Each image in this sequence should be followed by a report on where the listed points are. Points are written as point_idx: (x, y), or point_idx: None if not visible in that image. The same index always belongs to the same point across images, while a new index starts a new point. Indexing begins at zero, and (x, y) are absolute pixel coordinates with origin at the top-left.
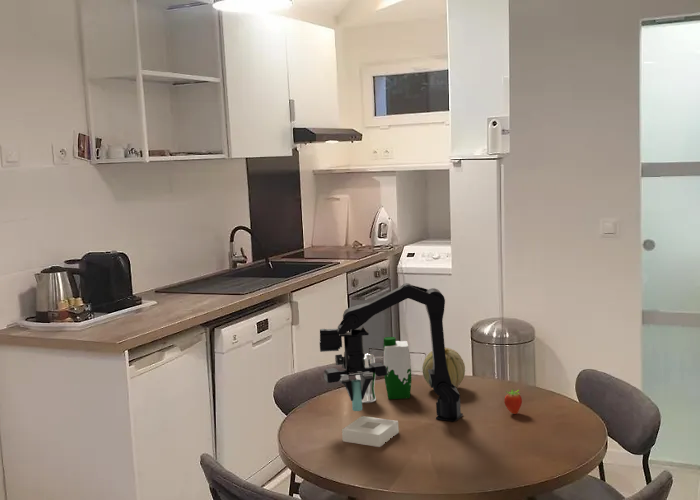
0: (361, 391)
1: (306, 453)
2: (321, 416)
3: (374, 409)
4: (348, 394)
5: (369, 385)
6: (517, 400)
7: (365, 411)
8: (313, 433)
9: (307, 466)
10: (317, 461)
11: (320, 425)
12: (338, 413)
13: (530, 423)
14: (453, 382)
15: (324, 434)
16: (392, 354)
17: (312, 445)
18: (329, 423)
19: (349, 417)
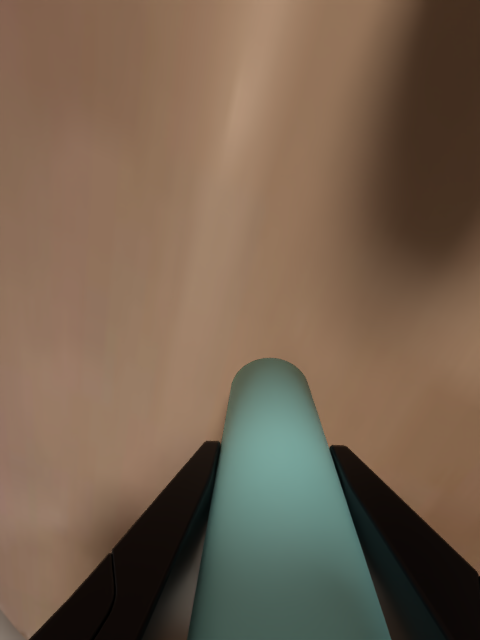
0: (364, 555)
1: (5, 552)
2: (61, 124)
3: (476, 126)
4: (166, 495)
5: None
6: None
7: (391, 147)
8: (20, 393)
9: (15, 621)
10: (44, 608)
11: (54, 299)
12: (188, 105)
13: None
14: None
15: (72, 424)
16: None
17: (22, 505)
18: (106, 289)
19: (243, 232)
